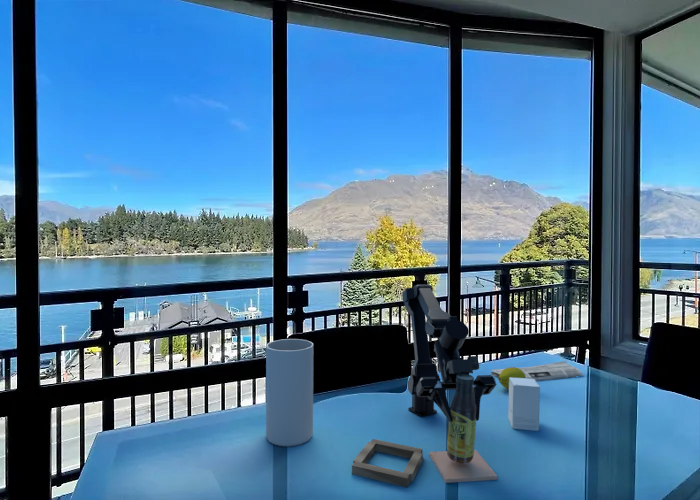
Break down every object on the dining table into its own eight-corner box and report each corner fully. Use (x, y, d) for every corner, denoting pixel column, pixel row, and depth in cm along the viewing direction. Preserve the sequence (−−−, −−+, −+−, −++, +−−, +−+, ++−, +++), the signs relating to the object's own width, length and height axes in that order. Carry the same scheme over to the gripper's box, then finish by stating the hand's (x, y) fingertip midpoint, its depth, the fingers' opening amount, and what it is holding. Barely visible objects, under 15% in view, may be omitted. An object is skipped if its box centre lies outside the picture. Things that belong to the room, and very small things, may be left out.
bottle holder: (371, 446, 112) (371, 438, 111) (424, 457, 106) (424, 449, 106) (349, 473, 99) (349, 464, 99) (409, 488, 93) (409, 478, 93)
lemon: (519, 385, 158) (520, 363, 158) (532, 393, 150) (532, 370, 150) (492, 386, 156) (492, 365, 156) (503, 394, 148) (503, 371, 148)
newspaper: (507, 385, 159) (507, 375, 159) (487, 374, 171) (488, 365, 171) (585, 377, 169) (585, 368, 168) (562, 368, 181) (562, 359, 181)
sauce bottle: (441, 455, 103) (443, 373, 102) (459, 448, 107) (461, 369, 106) (462, 468, 98) (465, 382, 97) (480, 460, 101) (483, 377, 100)
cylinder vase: (320, 430, 120) (320, 341, 119) (300, 451, 109) (301, 353, 108) (280, 423, 124) (280, 337, 124) (257, 443, 113) (257, 348, 112)
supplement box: (539, 431, 121) (540, 387, 120) (511, 428, 122) (512, 384, 122) (533, 420, 128) (535, 378, 127) (507, 418, 129) (508, 376, 129)
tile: (429, 455, 107) (429, 452, 107) (475, 452, 109) (475, 449, 109) (445, 482, 95) (445, 479, 95) (497, 479, 97) (497, 476, 97)
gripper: (420, 344, 104) (433, 408, 93) (494, 342, 106) (515, 405, 96) (411, 366, 112) (422, 427, 101) (479, 364, 114) (497, 424, 104)
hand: (464, 420), depth 100 cm, fingers closed on sauce bottle, 6 cm apart
